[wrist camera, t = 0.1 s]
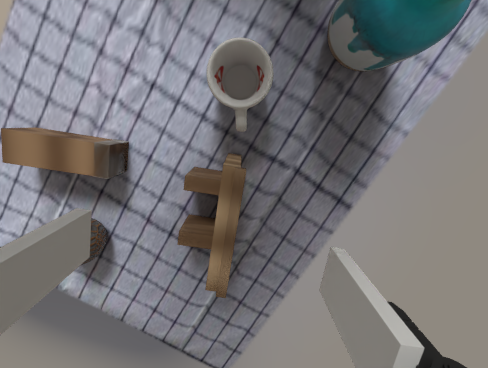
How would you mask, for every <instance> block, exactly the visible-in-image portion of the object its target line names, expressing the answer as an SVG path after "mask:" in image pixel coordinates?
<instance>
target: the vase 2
mask: <svg viewBox="0 0 488 368" xmlns="http://www.w3.org/2000/svg"><path fill="white" fill-rule="evenodd" d="M470 2H471V0H339V1H338V3H337V5H336V7H335V9H334V11H333V13H332V15H331V18H330V21H329V26H328V44H329V47H330V50H331V52H332V54H333V56H334V58H335V59H336V60H337V61H338V62H339V63H340V64H341V65H343V66H344V67H346V68H348V69H351V70H355V71H371V70H376V69H380V68H384V67H387V66H390V65H393V64H396V63H398V62H401V61H403V60H406V59H408V58H410V57H412V56H415V55H417V54H419V53H420V52H422V51H424V50H426V49H428V48H429V47H431V46H433V45H434V44H436V43H437V42H439V41H440V40H441V39H443V38H444V37H445V36H446V35H448V34H449V33H450V32H451V31H452V30H453V29H454V28H455V26H456V25H457V24H458V23H459V21H460V20H461V19H462V17H463V16H464V14H465V12H466V11H467V9H468V7H469V4H470Z"/></svg>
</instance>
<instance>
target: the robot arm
mask: <svg viewBox="0 0 488 368" xmlns="http://www.w3.org/2000/svg"><path fill="white" fill-rule="evenodd" d="M90 235H91V210H85V209H79V208H76V209H74V210H72V211H70V212H69V213H67V214H65V215H63V216H61V217H59V218H57V219H55V220H53V221H51V222H49V223H47V224H45V225H43V226H41V227H39V228H37V229H35V230H34V231H32V232H30V233H28V234H26V235H24V236H22V237H20V238H18V239H16V240H14V241H12V242H10V243H8V244H6V245H4V246H2V247H0V335H1V334H2V333H3V332H5V331H6V330H7V329H8V328H9V327H10V326H11V325H12V324H14V323H15V322H16V321H17V320H18V319H19V318H20V317H22V316H23V315H24V314H25V313H26V312H27V311H28V310H30V309H31V308H32V307H33V306H34V305H35V304H37V303H38V302H39V301H40V300H41V299H42V298H43V297H44V296H46V295H47V294H48V293H49V292H50V291H51V290H53V289H54V288H55V287H56V286H57V285H58V284H59V283H61V282H62V281H63V280H64V279H65V278H66V277H67V276H69V275H70V274H71V273H72V272H73V271H74V270H75V269H77V268H78V267H79V266H80V265H81V264H82V263H83V262H84V261H86V260H87V259H88V258H89V257H90ZM320 292H321V294H322V297H323V299H324V301H325V303H326V305H327V307H328V310H329V312H330V314H331V316H332V318H333V321H334V323H335V325H336V327H337V329H338V331H339V334H340V335H341V338H342V340H343V342H344V344H345V347H346V348H347V351H348V353H349V355H350V357H351V359H352V362H353V364H354V366H355V368H466V367H465V366H463V365H462V364H460V363H458V362H456V361H454V360H452V359H450V358H446V357H443V356H442V355H441V354H440V353H439V352H438V351H437V349H436V348H435V347H434V346H433V345H432V344H431V342H430V341H429V340H428V339H427V338H426V337H425V336H424V334H423V333H422V332H421V331H420V330H418V327H417V326H416V325H415V324H414V323H413V322H412V321H411V319H410V318H409V317H408V316H407V315H406V313H405V312H404V311H403V310H402V309H400V308H399V307H398V306H396V305H395V304H394V303H392V302H387V301H386V300H385V299H384V297H383V296H382V295H381V294H380V292H379V291H378V290H377V289H376V288H375V286H374V285H373V284H372V283H371V282H370V280H369V279H368V278H367V276H366V275H365V274H364V273H363V271H362V270H361V269H360V268H359V267H358V266H357V264H356V263H355V262H354V260H353V259H352V258H351V257H350V255H349V254H348V253H347V252H346V251H345V249H342V248H336V247H331V248H330V251H329V255H328V259H327V263H326V267H325V271H324V275H323V278H322V282H321V286H320Z"/></svg>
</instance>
